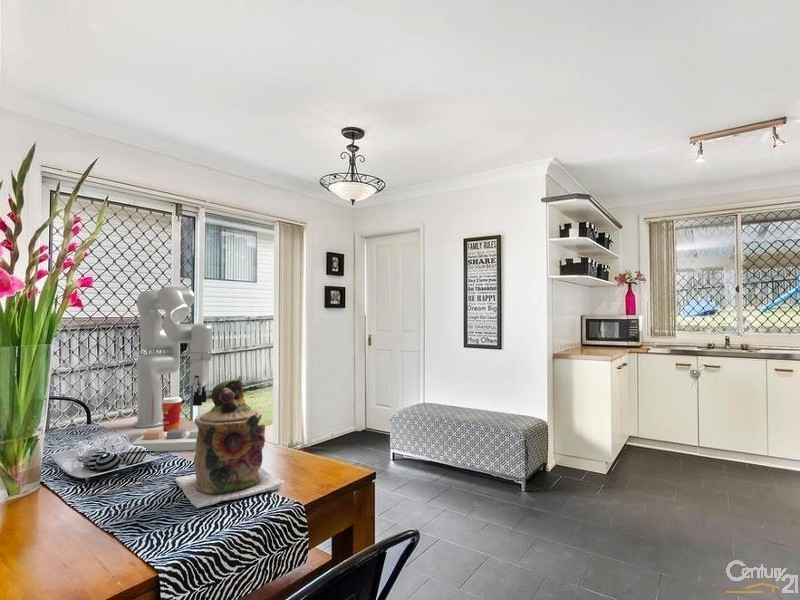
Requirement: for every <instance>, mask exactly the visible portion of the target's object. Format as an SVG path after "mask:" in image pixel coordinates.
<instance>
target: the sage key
mask: <svg viewBox="0 0 800 600" xmlns="http://www.w3.org/2000/svg"><path fill="white" fill-rule="evenodd" d="M189 431H190V436H189V438H198V428H193V429H191V430H189Z"/></svg>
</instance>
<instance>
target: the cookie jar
mask: <svg viewBox="0 0 800 600" xmlns="http://www.w3.org/2000/svg"><path fill="white" fill-rule="evenodd" d="M242 378H243V376H242V374H240V375H239V376H238V377H237V378H236V379H230V380H225V381H222V382H219V383H218V384H216V385H215V386H214V387H213V389H212V391H211V400H212V402H213V405H214V406H213V407H212V408H211V410H209V411H207V412H203V413H200V414H198V415H197V416H196V417H195V418H194V424H195V425H196V426H197V429H198V438H197V441H196V449H195V450H194V451H195V454H194V456H193V466H194V470H195V471H194V472H195V473H194V474H193V473H192V474H189V475H188V474H187V475H184V476H177V477H175V482H176V484H177V486H178V487H179V488H180V489H181V490H182V492H183V494H184V495H185V496H186V498H187V499H188V500H189V502H190V503H191V505H192V506H193V507H195V508H196V509H201V508H203V507H204V508H205V507H208V506H212V505H215V504H218V503H221V502H223V501H229V500H230V501H231V500H237V499H242V498H245V497H250V496H254V495H258V494H263V493H266V492H270V491H277V490H278V489H280V488H281V487H282V485H283V484H284V483H285V481H284V480H283V479H281V478H280V477H276V476H273V475H272V473H270V472H268V471H267V470H266V469H265V468H264V467H263V466H262V463H263V459H264V457H263V449H264V446H265V442H266V436H265V435H266V434H265V433H266V424H265V423H262V424H259V423H260V420H261V418H262V413H261V412H259V411H258V410H255V409H252V408H251V407H250V406H249V405H248V404H247V403H246V400H245V399H244V398H245V397H244V388H243V384H242Z"/></svg>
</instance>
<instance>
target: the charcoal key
mask: <svg viewBox="0 0 800 600" xmlns="http://www.w3.org/2000/svg"><path fill="white" fill-rule="evenodd" d="M186 431H187V429H186V428H179V429H171V430H170V431H169V432H167V439H182V438H183V437H184V436H185V435H186Z"/></svg>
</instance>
